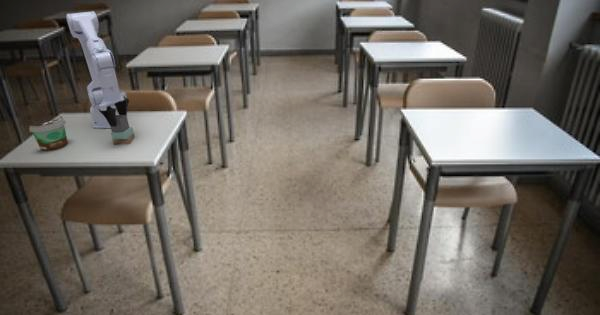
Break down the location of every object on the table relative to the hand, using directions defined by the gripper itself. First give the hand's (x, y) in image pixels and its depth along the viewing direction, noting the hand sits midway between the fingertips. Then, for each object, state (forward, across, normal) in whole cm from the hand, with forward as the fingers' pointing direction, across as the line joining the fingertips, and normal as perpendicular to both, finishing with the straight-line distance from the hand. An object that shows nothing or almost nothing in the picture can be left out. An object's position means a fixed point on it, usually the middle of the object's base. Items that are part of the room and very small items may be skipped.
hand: (118, 122), depth 153 cm
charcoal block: (+3, 0, 0) cm, 3 cm away
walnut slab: (+8, 0, -1) cm, 8 cm away
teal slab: (+5, 0, -1) cm, 5 cm away
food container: (+8, -7, +22) cm, 24 cm away
